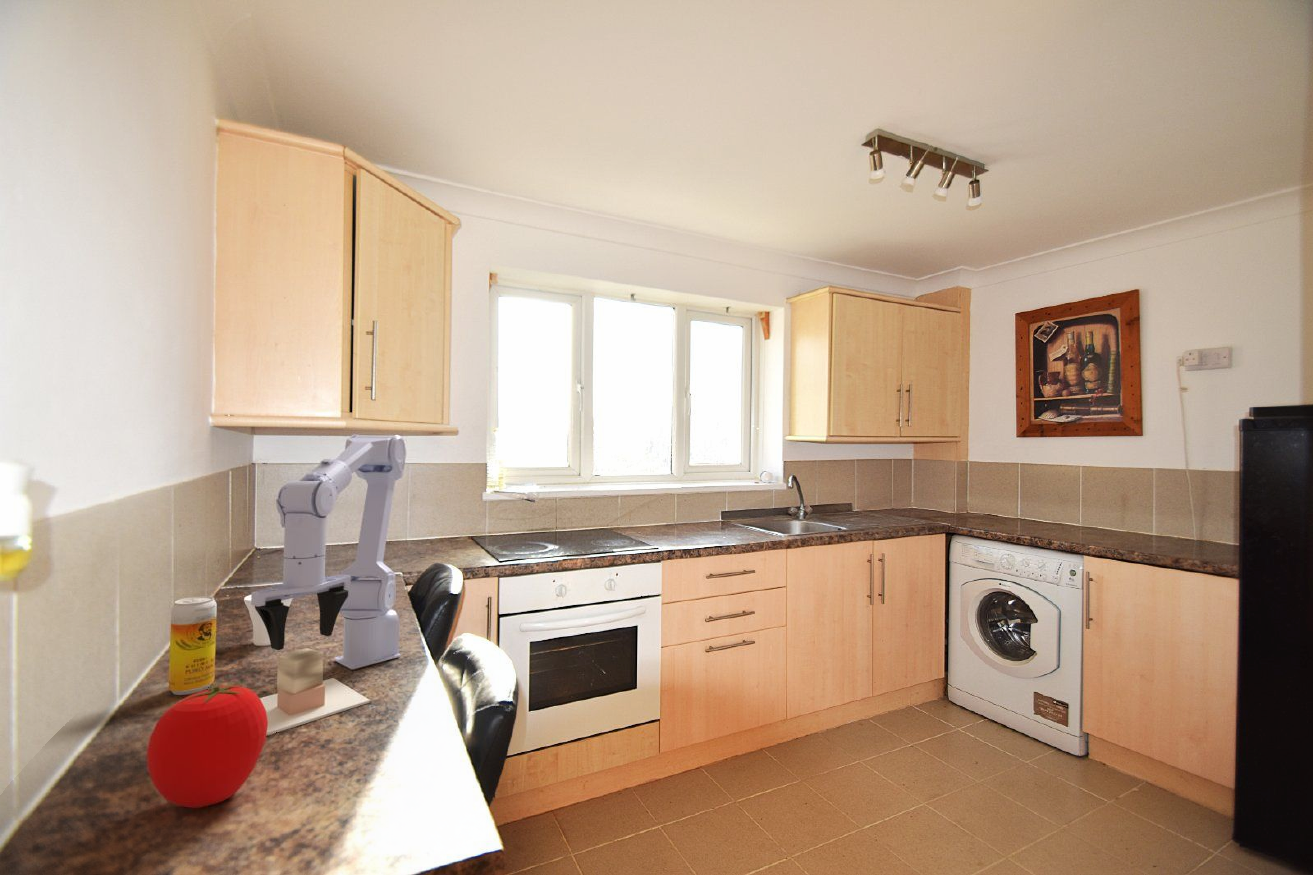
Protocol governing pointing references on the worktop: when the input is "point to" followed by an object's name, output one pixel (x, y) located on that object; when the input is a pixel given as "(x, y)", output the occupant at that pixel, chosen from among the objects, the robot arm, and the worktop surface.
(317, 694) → the terracotta block
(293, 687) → the maple block
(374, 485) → the robot arm
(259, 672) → the worktop surface
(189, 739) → the tomato
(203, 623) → the beer can
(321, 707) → the build mat
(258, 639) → the cup
